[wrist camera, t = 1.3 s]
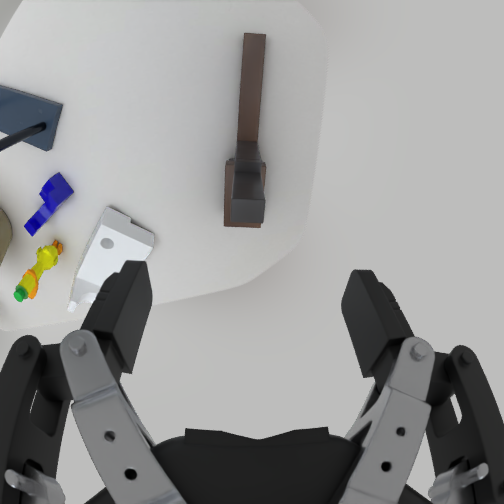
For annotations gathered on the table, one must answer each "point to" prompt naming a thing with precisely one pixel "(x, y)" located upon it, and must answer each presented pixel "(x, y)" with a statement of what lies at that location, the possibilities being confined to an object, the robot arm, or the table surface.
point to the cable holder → (49, 202)
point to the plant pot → (4, 234)
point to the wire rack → (27, 119)
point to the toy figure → (37, 271)
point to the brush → (247, 144)
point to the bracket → (108, 254)
